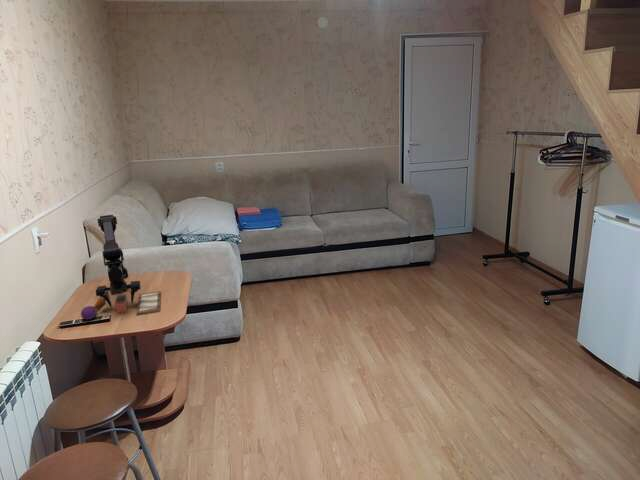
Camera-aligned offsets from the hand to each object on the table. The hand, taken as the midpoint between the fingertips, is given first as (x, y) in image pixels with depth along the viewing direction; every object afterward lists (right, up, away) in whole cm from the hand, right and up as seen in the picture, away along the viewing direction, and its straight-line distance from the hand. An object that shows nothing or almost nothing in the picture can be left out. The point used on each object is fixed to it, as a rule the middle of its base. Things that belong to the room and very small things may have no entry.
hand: (121, 305), depth 217 cm
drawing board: (+11, 0, +4) cm, 12 cm away
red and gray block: (0, -1, 0) cm, 1 cm away
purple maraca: (-11, -3, -3) cm, 12 cm away
